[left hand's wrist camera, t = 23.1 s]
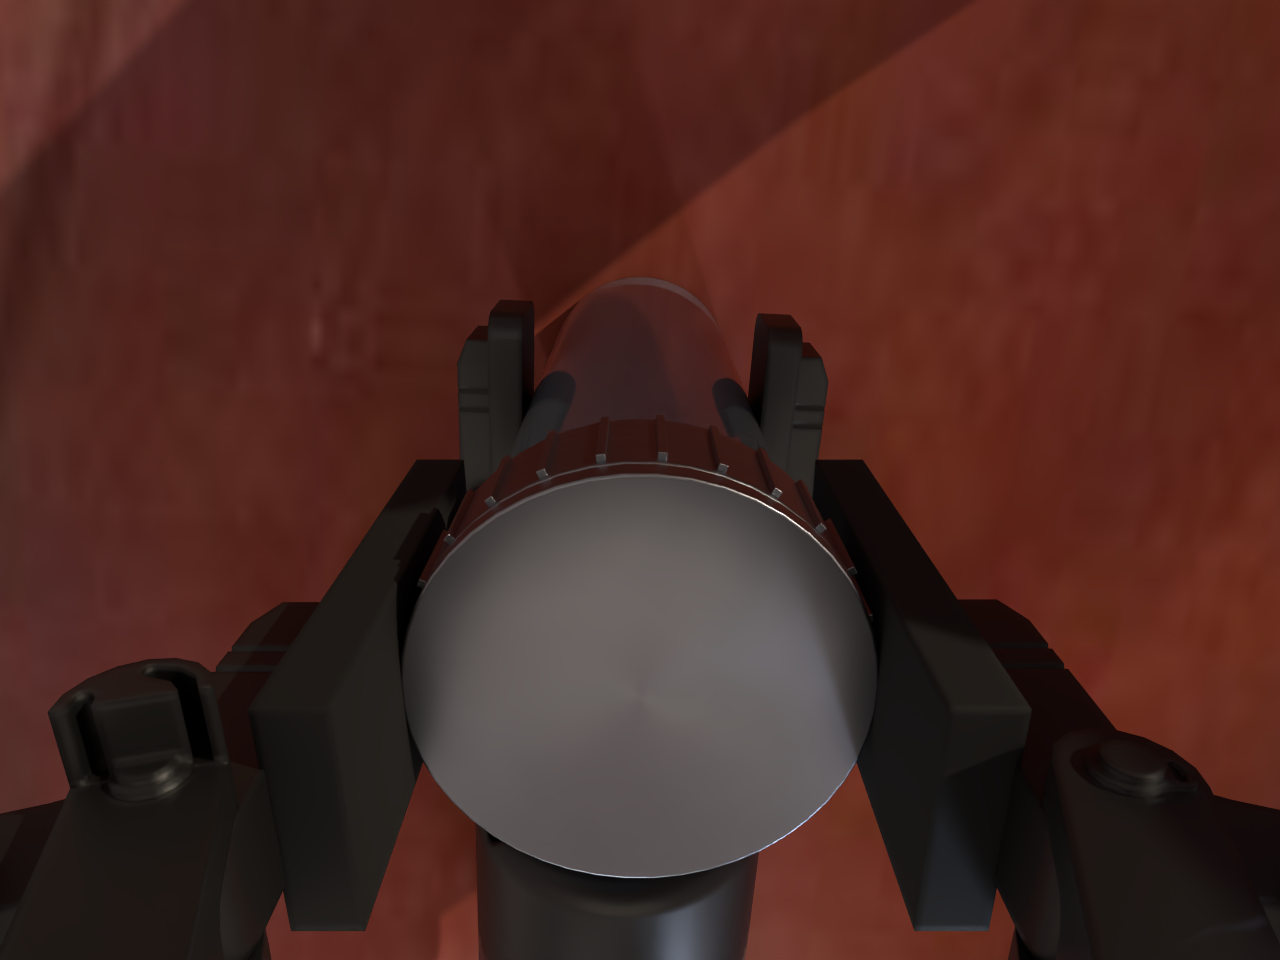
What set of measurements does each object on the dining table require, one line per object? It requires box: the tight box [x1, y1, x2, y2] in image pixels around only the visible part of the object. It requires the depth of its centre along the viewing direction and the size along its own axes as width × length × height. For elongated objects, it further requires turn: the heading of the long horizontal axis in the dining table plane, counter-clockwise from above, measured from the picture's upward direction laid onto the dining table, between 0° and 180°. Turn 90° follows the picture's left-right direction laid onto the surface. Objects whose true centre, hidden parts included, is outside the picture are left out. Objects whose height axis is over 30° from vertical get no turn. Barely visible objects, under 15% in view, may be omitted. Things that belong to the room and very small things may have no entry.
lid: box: [401, 415, 879, 878], centre depth 11 cm, size 6×6×2 cm
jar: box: [509, 277, 774, 463], centre depth 18 cm, size 5×5×15 cm
